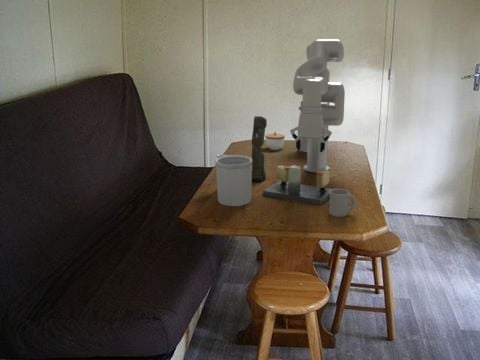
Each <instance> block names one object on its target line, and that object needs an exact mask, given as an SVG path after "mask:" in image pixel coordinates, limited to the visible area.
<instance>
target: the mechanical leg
mask: <svg viewBox="0 0 480 360" xmlns="http://www.w3.org/2000/svg"><path fill="white" fill-rule="evenodd" d="M252 125H253V127H252V129H253V130H252V136H251V158H252V183H261V184H262V183H263V182H264V181H265V180H267V179H266V178H267V172H266V170H265V153H264V152H262V150H263V149H262V148H263V147H262V146H263V145H264V143H265V136H266V135H265V134H266V128H267V118H266V117H264V116H258V115H257V116H256V115H255V116H254V117H253V124H252Z"/></svg>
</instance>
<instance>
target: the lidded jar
mask: <svg viewBox="0 0 480 360" xmlns="http://www.w3.org/2000/svg"><path fill="white" fill-rule="evenodd" d="M264 138H265V144H266V146H267V147H268V148H269V150H271V151H279V150H281V149H282V148H283V146H284V143H285V138H286V137H285V134H282V133H277V132H276V131H275V132H273V133H267V134H266V135H265V136H264Z"/></svg>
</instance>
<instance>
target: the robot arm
mask: <svg viewBox="0 0 480 360" xmlns="http://www.w3.org/2000/svg"><path fill="white" fill-rule="evenodd" d="M305 51H306V53H305V54H306V59H307V60H306V61H305V62H304V63H302V64H301V65H300V66H299V67H298V68H297V69H296V70H295V73H294V76H293V83H292V89H293V92H294V93H295V95H301V96H302V99H301V100H302V106H301V105H300V106H298V111H302V113H299V118H298V125H297V126H296V127H294V128H291V129H290V130H289V132H290V135H291V136H292V138H293V139H294V141H295V143H296V144H295V147H296V148H295V149H297V150H296V151H298V152H300V149H301V140H300V138H308V142H307V153H306V164H305V165H304V166H303V170H304V171H305V172H307V173H314V174H315V173H316V174H317V172H323V171H330V169H331V168H330V166H328V165H327V164H328V163H327V162H328V158H327V157H328V149H327V140H328V141H329V138H330V137H331V135H332V134H333V132H332V131H331V130H329V128H328V129H326V128H324V127H323V126H325V125H329V126H328V127H330V126H333V127H337V126H341V125H342V124H343V122H344V117H345V91H346V90H345V87H344V84H343V83H341V82H333V81H330V69H329V68H328V67H327V66H328V63H341V62H342V61H343V59H344V57H345V47H344V45H343V42H342V41H341V40H339V39H334V38H333V39H328V38H327V39H323V38H322V39H315V40H313V41H312V42H311V43H310V44H308V45H307V47H306V49H305ZM321 102H327V103H329V105H321ZM330 103H331V104H333V105H331V104H330ZM296 131H297V134H296V133H295V132H296ZM327 134H328V135H327Z"/></svg>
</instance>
